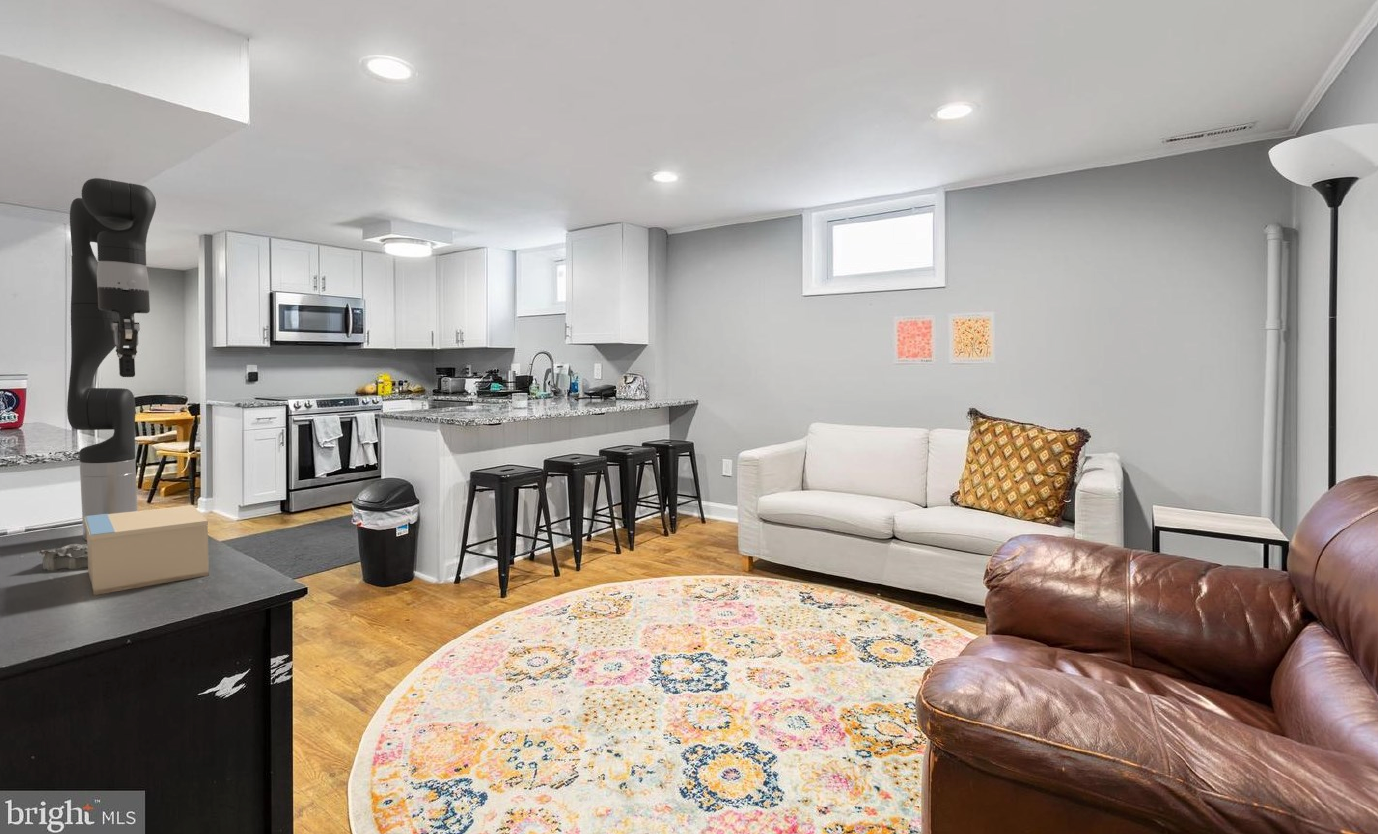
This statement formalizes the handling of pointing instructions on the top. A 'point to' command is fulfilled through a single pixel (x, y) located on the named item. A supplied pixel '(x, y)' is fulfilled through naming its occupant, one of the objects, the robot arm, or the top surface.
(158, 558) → the cardboard box
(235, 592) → the top surface
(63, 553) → the egg carton
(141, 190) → the robot arm
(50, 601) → the top surface
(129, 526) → the box lid
